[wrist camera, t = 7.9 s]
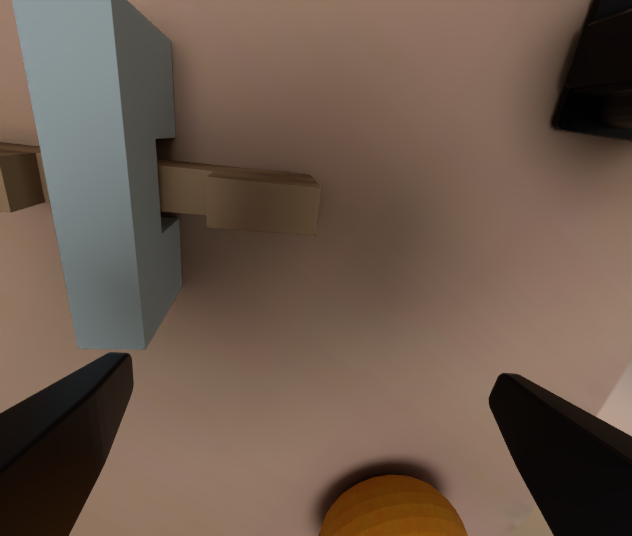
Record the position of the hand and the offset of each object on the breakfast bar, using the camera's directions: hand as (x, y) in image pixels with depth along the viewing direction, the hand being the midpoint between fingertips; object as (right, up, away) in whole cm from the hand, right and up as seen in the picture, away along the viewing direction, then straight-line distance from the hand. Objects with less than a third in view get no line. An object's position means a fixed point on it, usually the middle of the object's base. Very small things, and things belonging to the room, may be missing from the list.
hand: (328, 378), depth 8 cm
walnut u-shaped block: (-9, +7, +9) cm, 14 cm away
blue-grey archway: (-9, +7, +9) cm, 14 cm away
